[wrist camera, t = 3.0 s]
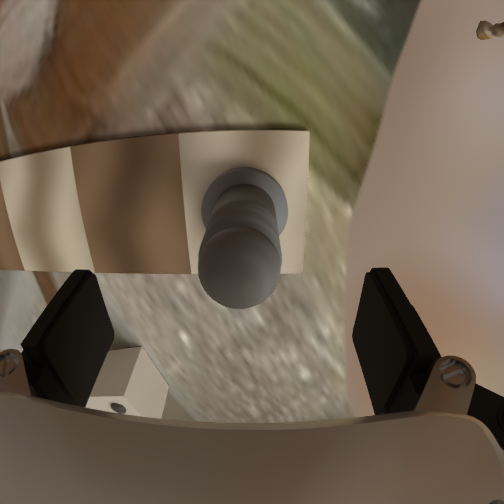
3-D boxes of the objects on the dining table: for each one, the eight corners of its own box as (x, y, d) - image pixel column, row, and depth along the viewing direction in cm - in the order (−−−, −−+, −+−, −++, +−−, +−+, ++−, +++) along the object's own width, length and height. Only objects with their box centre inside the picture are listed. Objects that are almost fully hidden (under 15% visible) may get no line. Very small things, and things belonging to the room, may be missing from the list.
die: (141, 346, 28) (123, 397, 22) (169, 386, 30) (157, 435, 25) (94, 352, 29) (72, 397, 23) (122, 389, 31) (107, 434, 26)
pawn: (287, 166, 20) (311, 226, 11) (285, 244, 22) (301, 340, 14) (200, 168, 20) (159, 227, 11) (206, 245, 22) (179, 339, 14)
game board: (307, 130, 19) (309, 131, 18) (301, 269, 24) (302, 273, 23) (-46, 174, 20) (-50, 176, 19) (-21, 265, 24) (-24, 268, 24)
